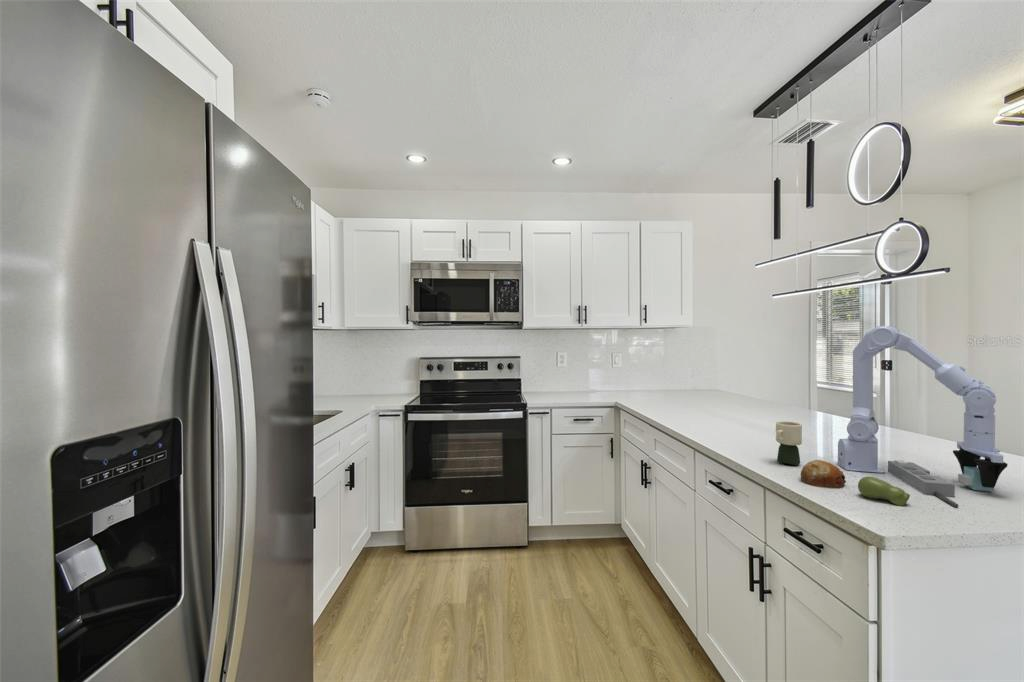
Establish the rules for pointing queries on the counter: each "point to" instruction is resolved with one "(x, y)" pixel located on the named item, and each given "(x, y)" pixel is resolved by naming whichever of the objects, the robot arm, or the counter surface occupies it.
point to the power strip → (923, 480)
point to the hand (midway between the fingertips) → (978, 482)
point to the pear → (882, 491)
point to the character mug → (788, 441)
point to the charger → (972, 479)
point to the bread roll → (822, 474)
